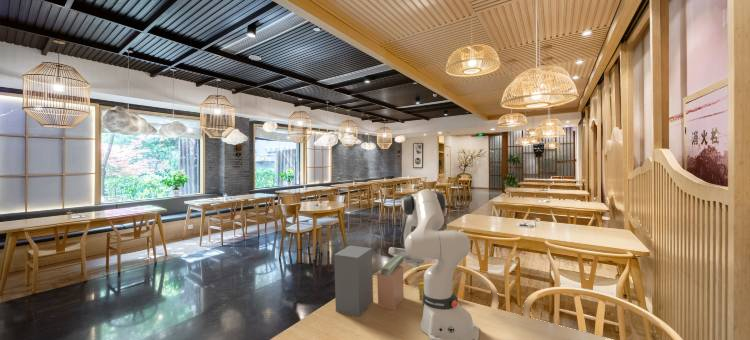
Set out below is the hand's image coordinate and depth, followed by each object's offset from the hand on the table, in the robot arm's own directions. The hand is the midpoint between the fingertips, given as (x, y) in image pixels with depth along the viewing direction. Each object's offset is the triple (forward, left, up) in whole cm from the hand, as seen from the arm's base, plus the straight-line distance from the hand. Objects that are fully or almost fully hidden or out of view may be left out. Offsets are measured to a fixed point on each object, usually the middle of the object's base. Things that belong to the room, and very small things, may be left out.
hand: (402, 250), depth 149 cm
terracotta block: (0, +18, -20) cm, 26 cm away
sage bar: (0, +15, -4) cm, 15 cm away
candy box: (-19, +7, -20) cm, 28 cm away
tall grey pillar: (+14, +28, -20) cm, 37 cm away
